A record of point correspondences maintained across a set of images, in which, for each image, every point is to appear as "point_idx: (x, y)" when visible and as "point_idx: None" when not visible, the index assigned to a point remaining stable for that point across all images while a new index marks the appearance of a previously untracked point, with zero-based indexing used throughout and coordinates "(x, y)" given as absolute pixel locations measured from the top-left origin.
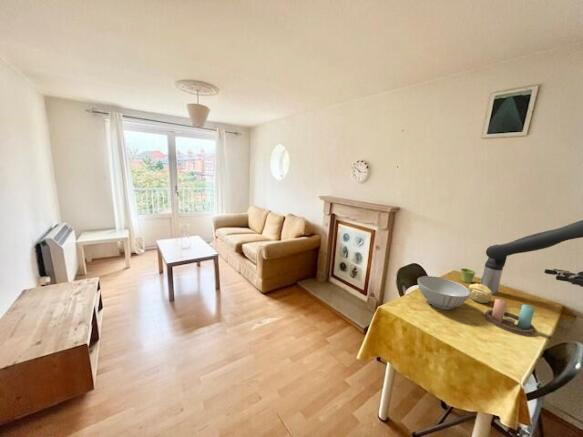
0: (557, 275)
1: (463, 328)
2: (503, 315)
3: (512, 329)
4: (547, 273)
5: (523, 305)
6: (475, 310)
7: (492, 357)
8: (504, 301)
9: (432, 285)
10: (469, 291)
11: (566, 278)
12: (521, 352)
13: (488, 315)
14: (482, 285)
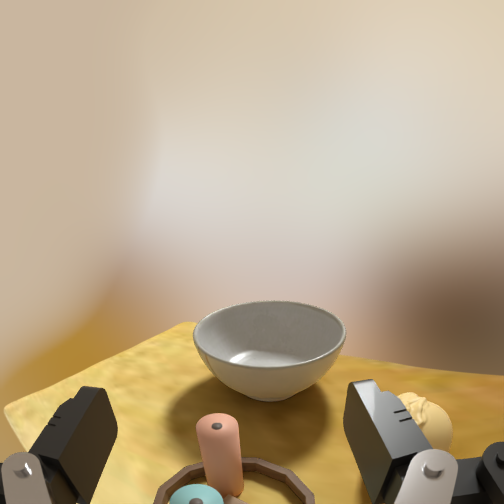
0: (96, 387)
1: (146, 401)
2: (209, 474)
3: (157, 494)
4: (348, 439)
5: (207, 491)
6: (286, 449)
7: (50, 405)
8: (219, 436)
9: (324, 342)
10: (262, 366)
11: (37, 445)
12: None
13: None
14: (416, 410)
